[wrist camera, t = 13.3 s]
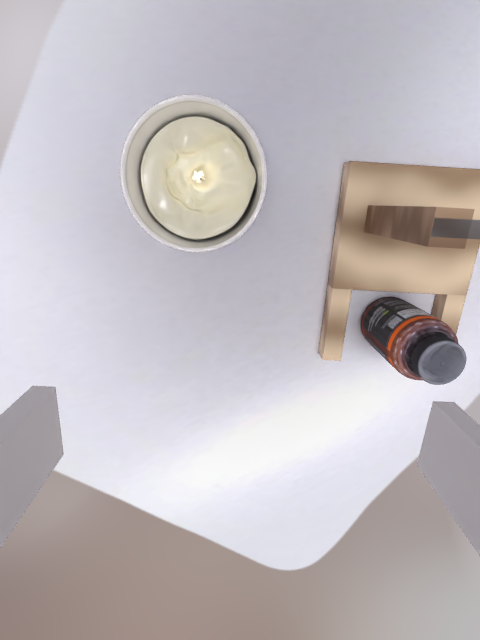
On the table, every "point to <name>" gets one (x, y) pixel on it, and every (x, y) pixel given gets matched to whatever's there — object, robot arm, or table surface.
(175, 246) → the candle holder
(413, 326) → the supplement bottle
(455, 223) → the hook post
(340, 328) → the oak forked base
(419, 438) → the table surface
